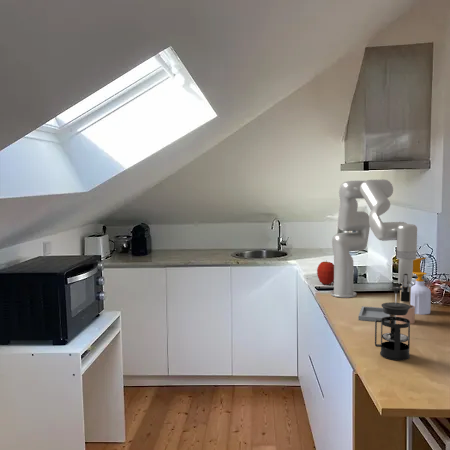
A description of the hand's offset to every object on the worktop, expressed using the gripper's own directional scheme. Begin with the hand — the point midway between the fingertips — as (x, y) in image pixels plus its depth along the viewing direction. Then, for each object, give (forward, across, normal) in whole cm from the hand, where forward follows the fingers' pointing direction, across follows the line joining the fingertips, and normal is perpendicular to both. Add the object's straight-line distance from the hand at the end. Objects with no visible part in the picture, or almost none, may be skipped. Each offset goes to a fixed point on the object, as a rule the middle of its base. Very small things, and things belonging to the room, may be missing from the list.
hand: (405, 299), depth 196 cm
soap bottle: (+10, -17, +6) cm, 20 cm away
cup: (+10, 0, 0) cm, 10 cm away
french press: (+10, +39, -3) cm, 41 cm away
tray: (+10, -4, -12) cm, 16 cm away
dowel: (+7, 0, 0) cm, 7 cm away
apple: (+11, -64, -41) cm, 77 cm away
